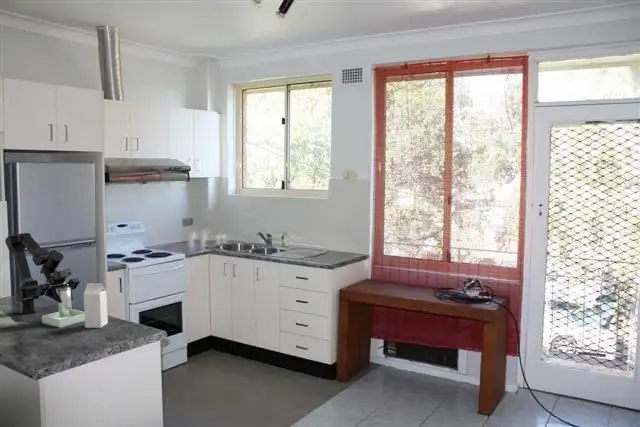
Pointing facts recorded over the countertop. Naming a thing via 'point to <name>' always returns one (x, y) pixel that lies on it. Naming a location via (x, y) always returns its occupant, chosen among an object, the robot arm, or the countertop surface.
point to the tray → (63, 319)
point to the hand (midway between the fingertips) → (66, 301)
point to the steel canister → (65, 302)
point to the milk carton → (95, 305)
